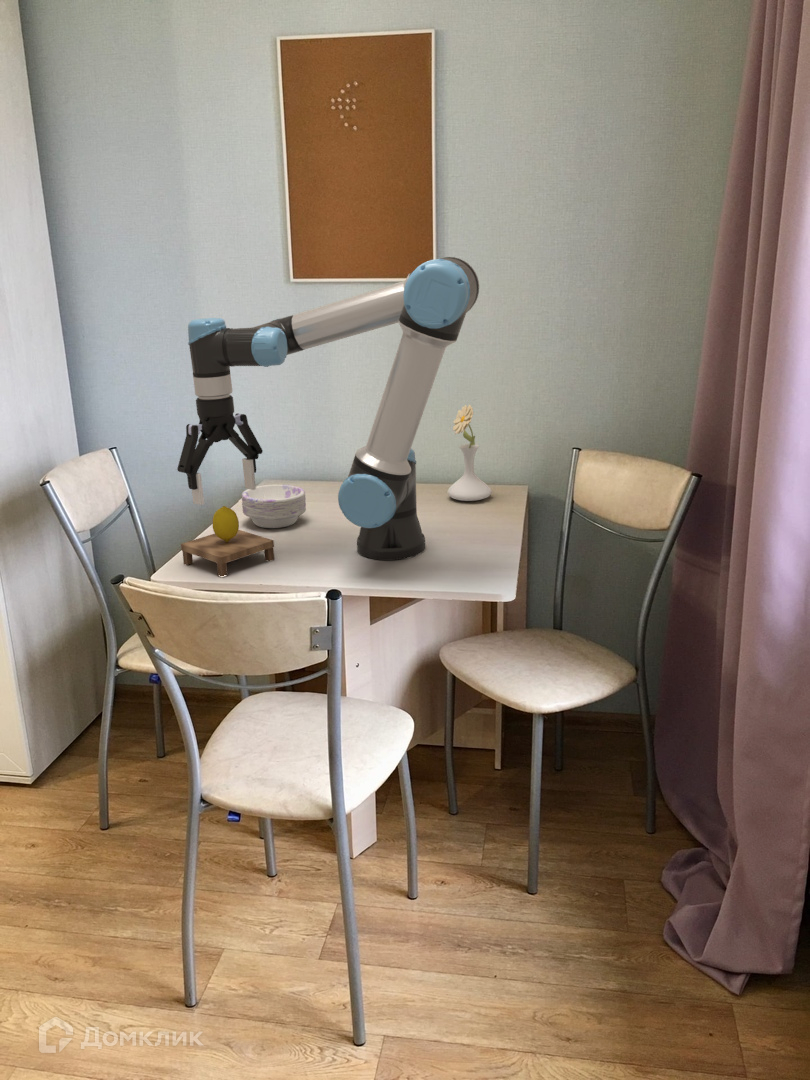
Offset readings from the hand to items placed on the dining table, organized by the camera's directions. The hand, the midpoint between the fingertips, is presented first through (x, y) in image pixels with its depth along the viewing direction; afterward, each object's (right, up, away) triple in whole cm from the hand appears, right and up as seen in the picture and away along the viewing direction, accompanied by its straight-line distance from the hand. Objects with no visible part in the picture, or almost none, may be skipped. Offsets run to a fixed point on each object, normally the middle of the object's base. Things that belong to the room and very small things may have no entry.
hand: (225, 496), depth 207 cm
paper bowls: (+7, -5, +31) cm, 32 cm away
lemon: (0, -10, +4) cm, 10 cm away
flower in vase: (+55, +1, +45) cm, 71 cm away
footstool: (+5, -10, +9) cm, 14 cm away
